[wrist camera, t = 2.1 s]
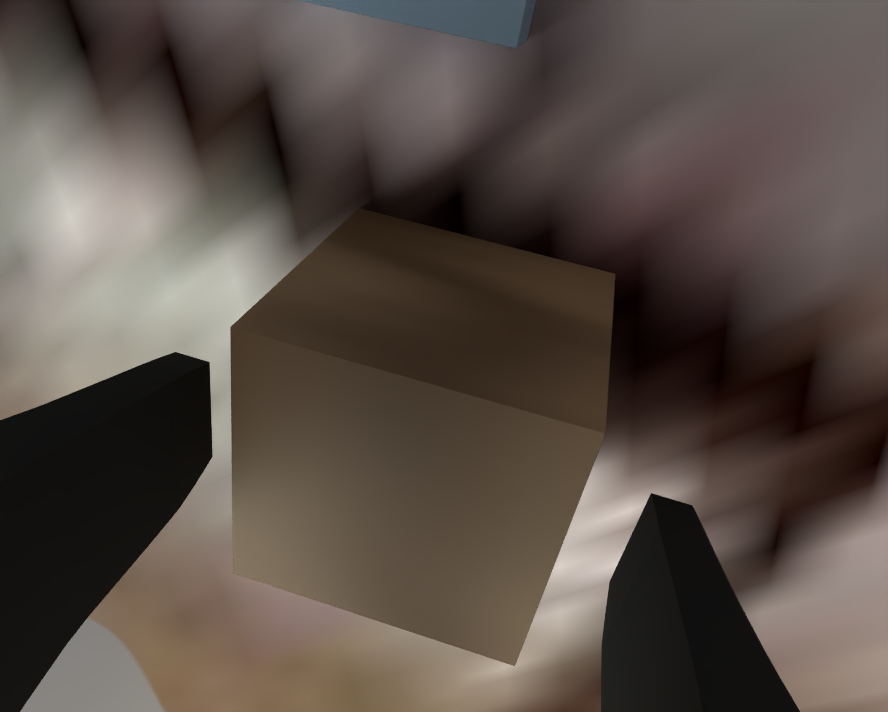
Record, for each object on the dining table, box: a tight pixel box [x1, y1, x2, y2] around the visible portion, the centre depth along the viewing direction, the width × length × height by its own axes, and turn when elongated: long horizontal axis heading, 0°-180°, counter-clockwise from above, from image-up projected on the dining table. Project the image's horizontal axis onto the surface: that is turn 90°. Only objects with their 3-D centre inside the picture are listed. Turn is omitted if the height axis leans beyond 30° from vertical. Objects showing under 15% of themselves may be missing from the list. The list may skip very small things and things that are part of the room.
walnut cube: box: [231, 208, 615, 666], centre depth 12 cm, size 5×5×5 cm
